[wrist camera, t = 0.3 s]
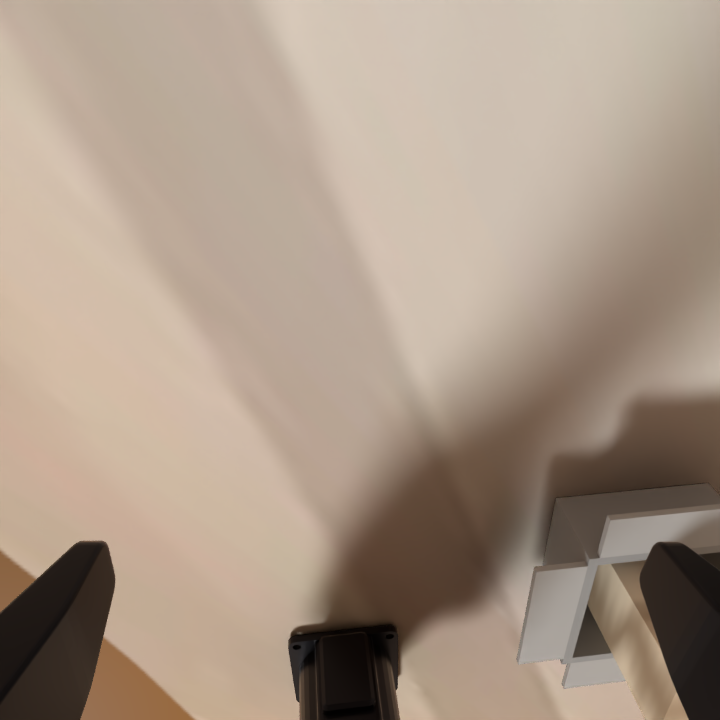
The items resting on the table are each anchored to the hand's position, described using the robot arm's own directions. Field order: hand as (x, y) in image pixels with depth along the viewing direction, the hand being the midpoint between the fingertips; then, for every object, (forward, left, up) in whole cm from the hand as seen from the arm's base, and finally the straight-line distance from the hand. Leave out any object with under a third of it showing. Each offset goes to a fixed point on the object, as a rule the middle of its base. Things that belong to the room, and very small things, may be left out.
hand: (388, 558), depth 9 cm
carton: (-19, -15, -15) cm, 28 cm away
